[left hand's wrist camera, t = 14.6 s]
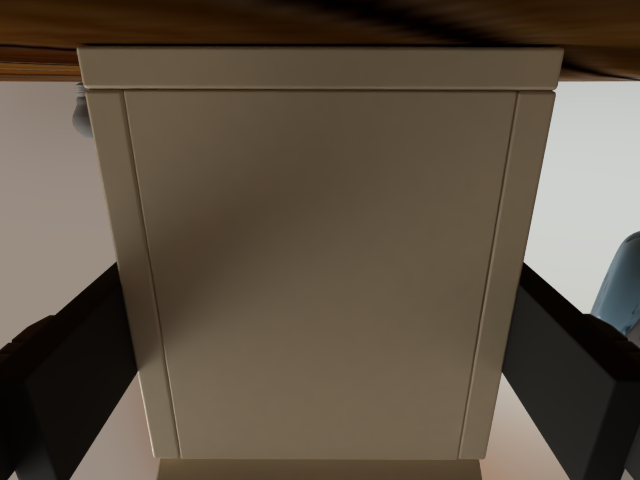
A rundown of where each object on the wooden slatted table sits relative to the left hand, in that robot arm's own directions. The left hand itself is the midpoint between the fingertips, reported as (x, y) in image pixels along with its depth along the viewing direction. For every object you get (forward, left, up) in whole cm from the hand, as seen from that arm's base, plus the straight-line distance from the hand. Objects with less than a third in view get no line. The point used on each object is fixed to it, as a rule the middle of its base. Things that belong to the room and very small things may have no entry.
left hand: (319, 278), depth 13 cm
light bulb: (-22, +77, -7) cm, 80 cm away
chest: (-4, +4, -7) cm, 9 cm away
